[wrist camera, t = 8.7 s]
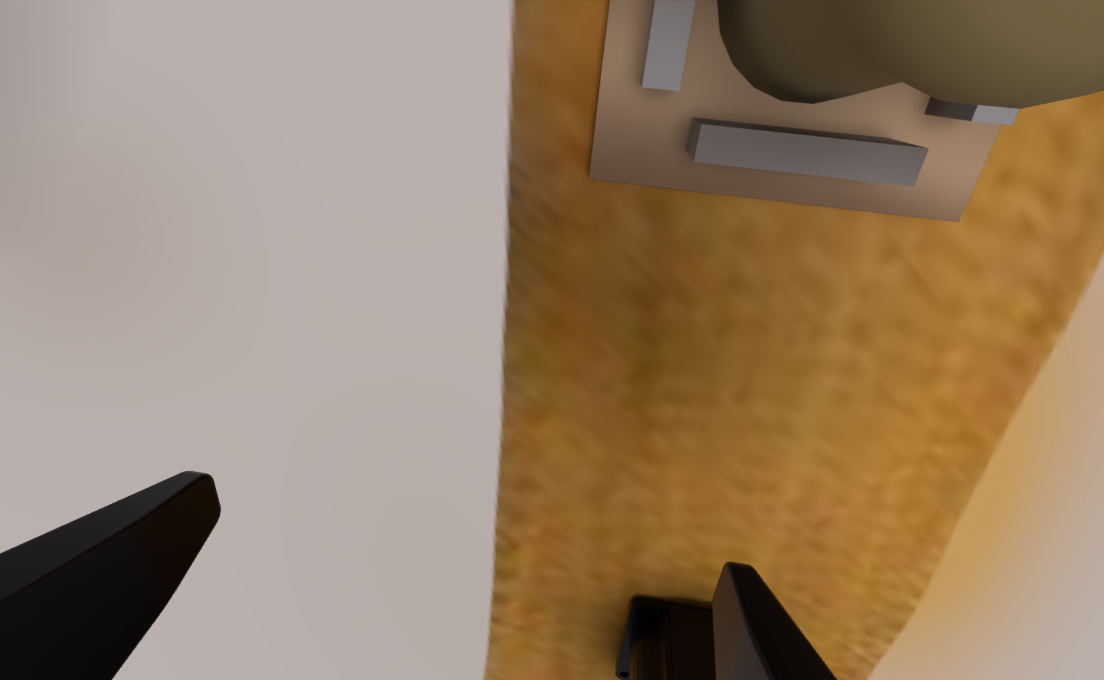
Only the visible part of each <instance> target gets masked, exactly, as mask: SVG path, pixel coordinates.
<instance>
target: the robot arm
mask: <svg viewBox="0 0 1104 680" xmlns="http://www.w3.org/2000/svg"><path fill="white" fill-rule="evenodd" d="M220 512H221V506H220V502H219V498H218V494H217V491H216V487H215V483H214V480H213V478H212V477H211V475H209V474H206V473H201V472H194V471H185V472H182V473H179V474H177V475H175V476H173V477H171V478H168V479H166V480H164V481H162V482H159V483H157V484H155V485H152V486H150V487H148V488H146V489H144V490H141V491H139V492H137V493H135V494H132V495H130V496H128V497H126V498H123V499H121V500H119V501H117V502H115V503H112V504H110V505H108V506H106V507H103V508H101V509H99V510H97V511H94V512H92V513H90V514H88V515H86V516H83V517H81V518H79V519H76V520H74V521H72V522H70V523H67V524H65V525H63V526H61V527H59V528H56V529H54V530H52V531H50V532H47V533H45V534H43V535H41V536H38V537H36V538H34V539H32V540H30V541H27V542H25V543H23V544H20V545H18V546H16V547H14V548H11V549H9V550H7V551H5V552H2V553H0V680H112V679H113V678H114V676H115V675H116V674H117V672H118V671H119V669H120V668H121V667H122V665H123V664H124V663H125V661H126V660H127V659H128V657H129V656H130V654H131V653H132V651H133V650H134V649H135V648H136V646H137V645H138V644H139V642H140V641H141V640H142V638H143V637H144V635H145V634H146V633H147V631H148V630H149V629H150V627H151V626H152V624H153V623H154V622H155V620H156V619H157V618H158V616H159V615H160V613H161V612H162V611H163V609H164V608H165V606H166V605H167V603H168V602H169V600H170V598H171V597H172V595H173V594H174V593H175V591H176V590H177V588H178V586H179V585H180V583H181V581H182V580H183V578H184V576H185V575H186V573H187V571H188V570H189V568H190V567H191V565H192V563H193V562H194V560H195V558H196V557H197V555H198V553H199V552H200V550H201V548H202V547H203V545H204V543H205V542H206V540H207V538H208V537H209V535H210V534H211V532H212V530H213V529H214V527H215V525H216V524H217V522H218V519H219V517H220ZM615 674H616V676H617V677H618V678H619V679H622V680H837V678H836V677H835V676H834V674H833V673H832V672H831V670H830V669H829V668H828V666H827V665H826V664H825V662H824V661H823V660H822V658H821V657H820V656H819V654H818V653H817V652H816V650H815V649H814V648H813V646H812V645H811V644H810V642H809V641H808V640H807V638H806V637H805V636H804V634H803V633H802V632H801V630H800V629H799V628H798V626H797V625H796V623H795V622H794V621H793V619H792V618H791V617H790V615H789V614H788V613H787V611H786V610H785V609H784V607H783V606H782V605H781V603H780V602H779V601H778V599H777V598H776V597H775V595H774V594H773V593H772V591H771V590H770V589H769V587H768V586H767V585H766V583H765V582H764V581H763V579H762V578H761V577H760V575H759V574H758V573H757V571H756V570H755V569H754V568H753V567H752V566H750V565H748V564H742V563H736V562H731V561H730V562H726V563H725V565H724V566H723V569H722V572H721V575H720V578H719V581H718V583H717V586H716V589H715V592H714V596H713V610H710V609H705V608H699V607H693V606H687V605H681V604H676V603H670V602H664V601H658V600H653V599H647V598H634V599H633V600H632V601H631V603H630V607H629V612H628V616H627V620H626V624H625V628H624V633H623V637H622V641H621V645H620V650H619V654H618V658H617V662H616V670H615Z"/></svg>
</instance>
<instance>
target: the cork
mask: <svg viewBox="0 0 1104 680" xmlns="http://www.w3.org/2000/svg"><path fill="white" fill-rule="evenodd" d="M717 6H718V18H719V30H720V35H721V38H722V40H723V43H724V45H725V47H726V50H727V52H728V55H729V57H730V59H731V62H732V64H733V66H734V67H735V68H736V69H737V70H738V71H739V72H740V73H741V74H742V75H743V76H744V77H745V79H746V80H747V81H748V82H749V83H750V84H751V85H752V86H753V87H754V88H756V89H758V90H760V91H762V92H764V93H766V94H768V95H770V96H772V97H774V98H776V99H778V100H780V101H786V102H796V103H807V104H816V103H820V102H825V101H829V100H834V99H838V98H843V97H847V96H851V95H855V94H858V93H862V92H866V91H870V90H874V89H878V88H881V87H885V86H889V85H893V84H897V83H900V82H903V83H905V84H907V85H909V86H911V87H913V88H915V89H917V90H919V91H921V92H923V93H925V94H927V95H929V96H931V97H933V98H935V99H937V100H939V101H947V102H955V103H963V104H973V105H984V106H994V107H1004V108H1015V109H1021V108H1026V107H1031V106H1036V105H1040V104H1045V103H1050V102H1055V101H1060V100H1065V99H1069V98H1074V97H1079V96H1084V95H1088V94H1092V93H1095V92H1099V91H1103V90H1104V0H717Z"/></svg>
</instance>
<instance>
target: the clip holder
mask: <svg viewBox="0 0 1104 680" xmlns="http://www.w3.org/2000/svg"><path fill="white" fill-rule="evenodd" d="M1018 111H1019V109H1015V108H1004V107H994V106H984V105H973V104H963V103H955V102H947V101H939V100H937V99H935V98H933V97H931V96H929V95H927V94H925V93H923V92H921V91H919V90H917V89H915V88H913V87H911V86H909V85H907V84H905V83H903V82H900V83H897V84H893V85H889V86H885V87H881V88H878V89H874V90H870V91H866V92H862V93H858V94H855V95H851V96H847V97H843V98H838V99H834V100H829V101H825V102H820V103H816V104H807V103H796V102H786V101H780V100H778V99H776V98H774V97H772V96H770V95H768V94H766V93H764V92H762V91H760V90H758V89H756V88H754V87H753V86H752V85H751V84H750V83H749V82H748V81H747V80H746V79H745V77H744V76H743V75H742V74H741V73H740V72H739V71H738V70H737V69H736V68H735V67H734V66H733V64H732V62H731V59H730V57H729V55H728V52H727V50H726V47H725V45H724V43H723V40H722V38H721V35H720V30H719V18H718V6H717V0H610V4H609V12H608V21H607V29H606V38H605V46H604V55H603V63H602V72H601V80H600V89H599V97H598V106H597V114H596V123H595V131H594V139H593V148H592V156H591V165H590V173H589V179H593V180H601V181H610V182H619V183H627V184H636V185H644V186H653V187H662V188H670V189H679V190H687V191H696V192H704V193H713V194H722V195H730V196H739V197H747V198H756V199H765V200H773V201H782V202H790V203H799V204H808V205H816V206H825V207H833V208H842V209H851V210H859V211H868V212H876V213H885V214H894V215H902V216H911V217H919V218H928V219H937V220H945V221H954V222H959V220H960V218H961V216H962V213H963V211H964V209H965V207H966V204H967V202H968V200H969V198H970V195H971V193H972V191H973V189H974V186H975V184H976V182H977V180H978V177H979V175H980V173H981V171H982V168H983V166H984V164H985V161H986V159H987V157H988V155H989V152H990V150H991V148H992V146H993V143H994V141H995V139H996V137H997V134H998V132H999V130H1000V128H1001V125H1002V124H1003V125H1012V124H1013V122H1014V120H1015V118H1016V115H1017V113H1018Z"/></svg>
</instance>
